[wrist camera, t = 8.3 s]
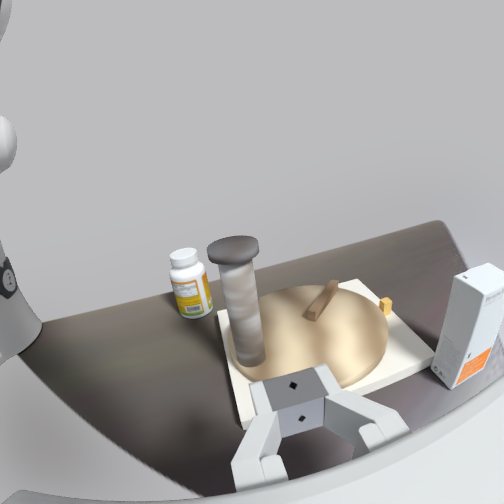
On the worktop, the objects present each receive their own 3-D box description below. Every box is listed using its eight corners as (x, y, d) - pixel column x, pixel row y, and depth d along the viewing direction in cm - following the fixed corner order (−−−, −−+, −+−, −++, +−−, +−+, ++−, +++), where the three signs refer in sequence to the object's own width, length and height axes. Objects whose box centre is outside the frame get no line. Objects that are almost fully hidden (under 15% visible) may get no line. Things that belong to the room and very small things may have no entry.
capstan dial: (244, 416, 26) (213, 284, 20) (220, 311, 43) (200, 214, 38) (417, 359, 28) (439, 233, 23) (344, 283, 46) (342, 190, 40)
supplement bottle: (198, 297, 51) (186, 243, 47) (220, 306, 47) (208, 249, 44) (173, 312, 47) (157, 256, 44) (194, 323, 44) (178, 263, 40)
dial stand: (243, 430, 26) (237, 409, 24) (219, 319, 44) (214, 299, 43) (433, 364, 29) (440, 340, 27) (357, 287, 47) (357, 267, 46)
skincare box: (450, 392, 24) (483, 295, 20) (429, 369, 28) (451, 274, 24) (485, 369, 25) (516, 277, 21) (463, 349, 29) (487, 260, 25)
